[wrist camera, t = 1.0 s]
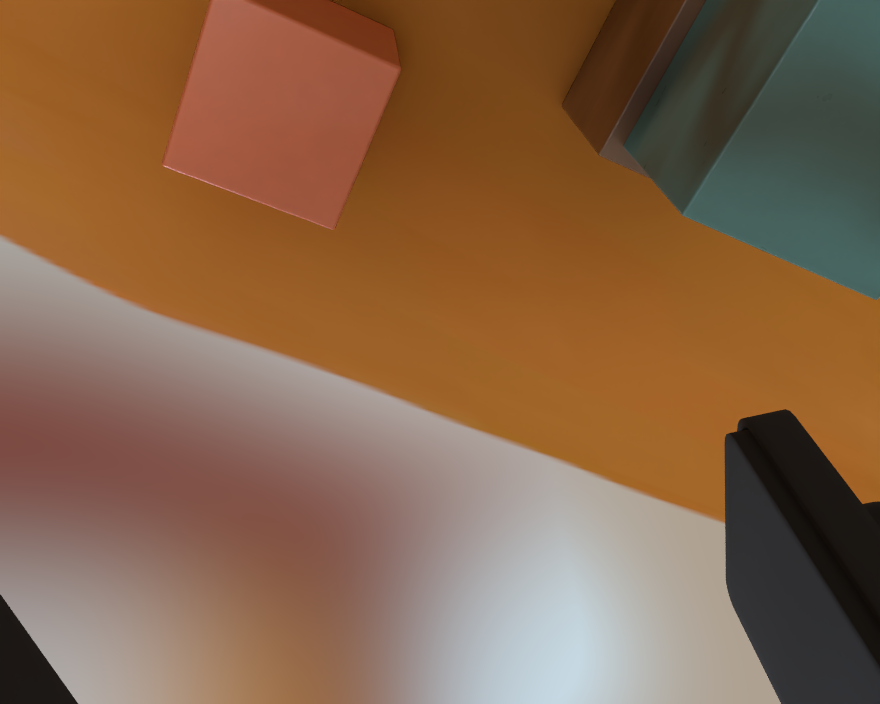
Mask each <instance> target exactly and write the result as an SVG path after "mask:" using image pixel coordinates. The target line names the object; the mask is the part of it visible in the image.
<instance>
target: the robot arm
mask: <svg viewBox="0 0 880 704" xmlns="http://www.w3.org/2000/svg"><path fill="white" fill-rule="evenodd" d="M725 529H726V584H727V589H728V593H729V596H730V599H731V602H732V605H733V607H734V609H735V611H736V613H737V615H738V617H739V619H740V622H741V624H742V626H743V627H744V629H745V632H746V634H747V636H748V638H749V640H750V642H751V643H752V646H753V648H754V650H755V652H756V654H757V656H758V658H759V660H760V662H761V664H762V666H763V668H764V670H765V672H766V674H767V676H768V678H769V680H770V682H771V684H772V686H773V688H774V690H775V692H776V694H777V696H778V698H779V700H780V702H781V704H880V502H871V503H866V504H862V503H861V502H860V501H859V499H858V498H857V497H856V495H855V494H854V493H853V491H852V490H851V489H850V487H849V486H848V485H847V484H846V482H845V481H844V480H843V478H842V477H841V476H840V474H839V473H838V472H837V470H836V469H835V468H834V467H833V465H832V464H831V463H830V461H829V460H828V459H827V457H826V456H825V455H824V453H823V452H822V451H821V450H820V448H819V447H818V446H817V444H816V443H815V442H814V440H813V439H812V438H811V436H810V435H809V434H808V433H807V431H806V430H805V429H804V427H803V426H802V425H801V423H800V422H799V421H798V420H797V418H796V417H795V416H794V415H793V414H792V413H791V412H790V411H788V410H786V409H785V410H780V411H776V412H771V413H766V414H761V415H757V416H752V417H747V418H743V419H740V420H739V423H738V428H737V432H733V433H729V434H726V437H725ZM0 704H78V703H77V702H76V700H75V699H74V697H73V696H72V694H71V693H70V692H69V690H68V689H67V687H66V686H65V685H64V683H63V682H62V681H61V679H60V678H59V676H58V675H57V673H56V672H55V671H54V669H53V668H52V666H51V665H50V664H49V662H48V661H47V659H46V658H45V657H44V655H43V654H42V653H41V651H40V649H39V648H38V647H37V645H36V644H35V642H34V641H33V640H32V638H31V637H30V635H29V634H28V633H27V631H26V630H25V628H24V627H23V626H22V624H21V623H20V621H19V620H18V619H17V617H16V616H15V615H14V613H13V611H12V610H11V609H10V607H9V606H8V605H7V603H6V602H5V600H4V599H3V597H2V596H1V595H0Z"/></svg>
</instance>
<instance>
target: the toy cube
mask: <svg viewBox="0 0 880 704" xmlns="http://www.w3.org/2000/svg"><path fill="white" fill-rule="evenodd" d="M400 72H401V65H400V60H399V55H398V50H397V45H396V40H395V35H394V31H393V30H392V29H391V28H389V27H386V26H384V25H382V24H380V23H378V22H375V21H373V20H371V19H369V18H367V17H365V16H362V15H360V14H358V13H356V12H354V11H352V10H349V9H347V8H345V7H343V6H341V5H338V4H336V3H334V2H332V1H330V0H210V2H209V5H208V9H207V12H206V15H205V19H204V22H203V25H202V29H201V32H200V36H199V39H198V42H197V46H196V49H195V52H194V56H193V59H192V63H191V66H190V69H189V73H188V76H187V79H186V83H185V86H184V90H183V93H182V96H181V100H180V103H179V107H178V110H177V113H176V117H175V120H174V123H173V127H172V130H171V134H170V137H169V140H168V144H167V147H166V150H165V154H164V157H163V161H162V165H163V166H164V167H166V168H169V169H172V170H174V171H177V172H180V173H182V174H185V175H188V176H190V177H193V178H196V179H198V180H201V181H204V182H206V183H209V184H212V185H214V186H217V187H220V188H222V189H225V190H228V191H230V192H233V193H236V194H238V195H241V196H244V197H246V198H249V199H252V200H254V201H257V202H260V203H262V204H265V205H268V206H270V207H273V208H276V209H278V210H281V211H284V212H286V213H289V214H292V215H294V216H297V217H300V218H302V219H305V220H308V221H310V222H313V223H316V224H318V225H321V226H324V227H326V228H329V229H334V228H335V227H336V225H337V223H338V220H339V218H340V216H341V213H342V211H343V208H344V206H345V204H346V201H347V199H348V196H349V194H350V192H351V189H352V187H353V184H354V182H355V180H356V177H357V175H358V173H359V170H360V168H361V165H362V163H363V161H364V158H365V156H366V153H367V151H368V149H369V146H370V144H371V141H372V139H373V137H374V134H375V132H376V130H377V127H378V125H379V122H380V120H381V118H382V115H383V113H384V110H385V108H386V106H387V103H388V101H389V98H390V96H391V94H392V91H393V89H394V87H395V84H396V82H397V79H398V77H399V75H400Z"/></svg>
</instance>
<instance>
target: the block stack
mask: <svg viewBox="0 0 880 704" xmlns="http://www.w3.org/2000/svg"><path fill="white" fill-rule="evenodd" d="M562 107H563V109H564V110H565V111H566V113H567V114H568V115H569V117H570V118H571V119H572V120H573V122H574V123H575V124H576V126H577V127H578V128H579V130H580V131H581V132H582V134H583V135H584V136H585V138H586V139H587V140H588V142H589V143H590V144H591V145H592V147H593V148H594V149H595V151H596V152H597V153H598V155H599V156H601V157H604V158H606V159H608V160H610V161H613V162H615V163H617V164H619V165H621V166H624V167H626V168H628V169H630V170H633V171H635V172H637V173H639V174H642V175H644V176H646V177H648V178H651V179H652V181H653V182H654V183H655V184H656V185H657V186H658V188H659V189H660V190H661V191H662V192H663V193H664V194H665V196H666V197H667V198H668V199H669V200H670V201H671V203H672V204H673V205H674V206H675V207H676V208H677V210H678V211H679V212H680V213H681V214H682V215H683V216H685V217H687V218H689V219H692V220H694V221H696V222H698V223H701V224H703V225H705V226H708V227H710V228H712V229H714V230H717V231H719V232H721V233H724V234H726V235H728V236H730V237H733V238H735V239H737V240H740V241H742V242H744V243H746V244H749V245H751V246H753V247H756V248H758V249H760V250H762V251H765V252H767V253H769V254H772V255H774V256H776V257H778V258H781V259H783V260H785V261H788V262H790V263H792V264H794V265H797V266H799V267H801V268H804V269H806V270H808V271H810V272H813V273H815V274H817V275H820V276H822V277H824V278H826V279H829V280H831V281H833V282H836V283H838V284H840V285H842V286H845V287H847V288H849V289H852V290H854V291H856V292H858V293H861V294H863V295H865V296H868V297H870V298H872V299H875V300H877V299H878V298H879V297H880V0H616V2H615V4H614V6H613V8H612V10H611V12H610V14H609V16H608V18H607V19H606V21H605V23H604V25H603V27H602V29H601V31H600V33H599V35H598V37H597V39H596V41H595V42H594V44H593V46H592V48H591V50H590V52H589V54H588V56H587V58H586V60H585V62H584V64H583V65H582V67H581V69H580V71H579V73H578V75H577V77H576V79H575V81H574V83H573V85H572V87H571V88H570V90H569V92H568V94H567V96H566V98H565V100H564V102H563V104H562Z"/></svg>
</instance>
